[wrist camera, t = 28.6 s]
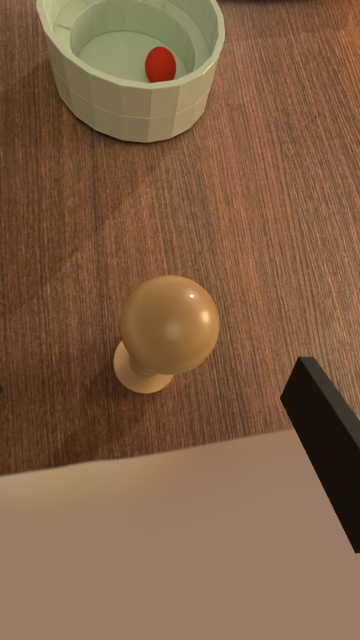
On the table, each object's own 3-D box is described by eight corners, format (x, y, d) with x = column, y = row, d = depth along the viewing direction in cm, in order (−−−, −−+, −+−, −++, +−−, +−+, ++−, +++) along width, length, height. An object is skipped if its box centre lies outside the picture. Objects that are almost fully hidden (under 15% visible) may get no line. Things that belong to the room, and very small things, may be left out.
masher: (100, 364, 24) (40, 315, 8) (143, 320, 26) (171, 198, 9) (146, 406, 24) (184, 450, 8) (187, 360, 25) (295, 311, 9)
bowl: (20, 81, 29) (-8, 4, 23) (118, -1, 33) (115, -84, 27) (152, 175, 29) (158, 122, 23) (233, 82, 33) (255, 17, 27)
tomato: (138, 78, 30) (138, 44, 27) (162, 67, 31) (164, 33, 28) (156, 99, 30) (158, 67, 27) (180, 87, 31) (184, 55, 28)
